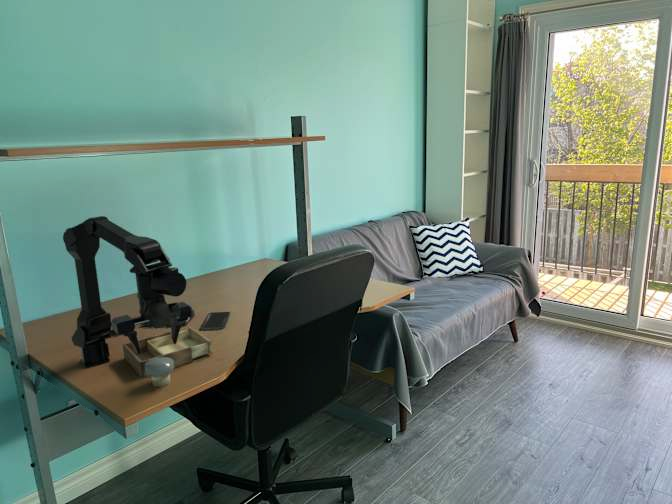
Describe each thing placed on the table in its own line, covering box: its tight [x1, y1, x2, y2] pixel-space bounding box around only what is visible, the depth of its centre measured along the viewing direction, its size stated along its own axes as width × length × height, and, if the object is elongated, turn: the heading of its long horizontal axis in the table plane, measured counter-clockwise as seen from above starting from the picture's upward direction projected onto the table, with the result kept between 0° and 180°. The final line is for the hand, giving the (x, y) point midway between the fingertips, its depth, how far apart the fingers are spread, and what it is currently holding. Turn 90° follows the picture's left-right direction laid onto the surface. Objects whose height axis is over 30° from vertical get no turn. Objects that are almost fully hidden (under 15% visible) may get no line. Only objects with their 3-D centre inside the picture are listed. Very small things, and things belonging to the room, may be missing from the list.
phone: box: [200, 311, 231, 331], centre depth 172 cm, size 8×1×15 cm
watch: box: [110, 328, 118, 337], centre depth 165 cm, size 8×5×4 cm, turn 157°
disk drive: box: [142, 309, 196, 328], centre depth 174 cm, size 10×3×15 cm
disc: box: [145, 357, 175, 378], centre depth 129 cm, size 7×7×2 cm
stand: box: [151, 373, 171, 388], centre depth 130 cm, size 4×4×4 cm
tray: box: [147, 326, 213, 359], centre depth 147 cm, size 15×15×4 cm
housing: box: [122, 331, 194, 379], centre depth 143 cm, size 14×16×4 cm
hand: (157, 348), depth 128 cm, fingers open, 9 cm apart
